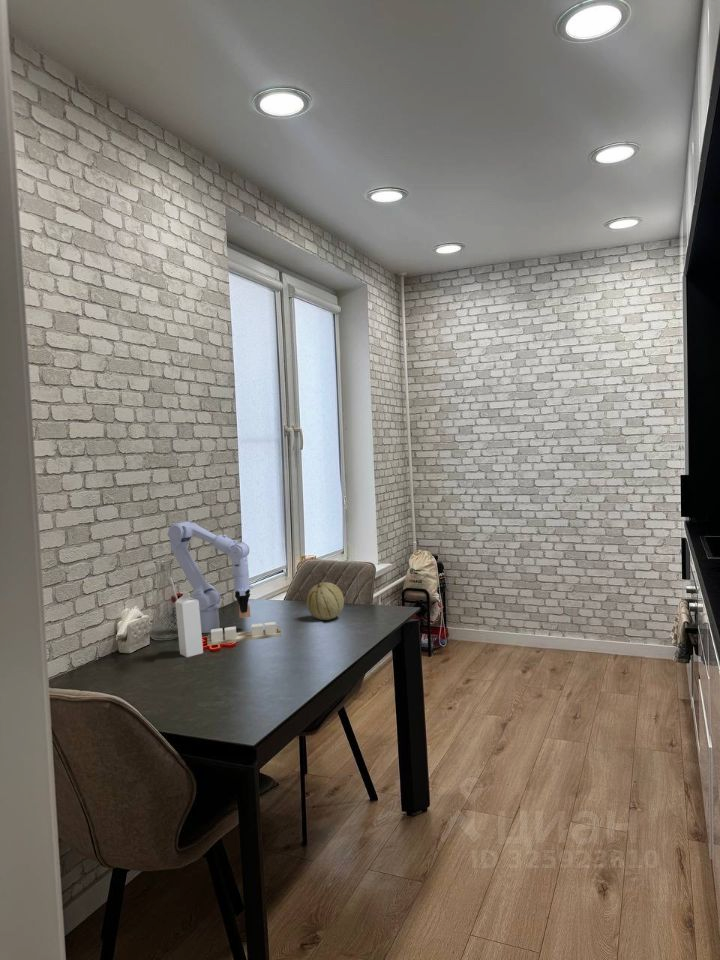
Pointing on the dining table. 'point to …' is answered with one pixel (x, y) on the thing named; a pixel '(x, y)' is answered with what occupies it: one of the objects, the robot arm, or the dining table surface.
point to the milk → (189, 625)
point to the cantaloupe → (325, 601)
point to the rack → (244, 637)
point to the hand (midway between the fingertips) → (244, 610)
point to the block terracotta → (245, 614)
